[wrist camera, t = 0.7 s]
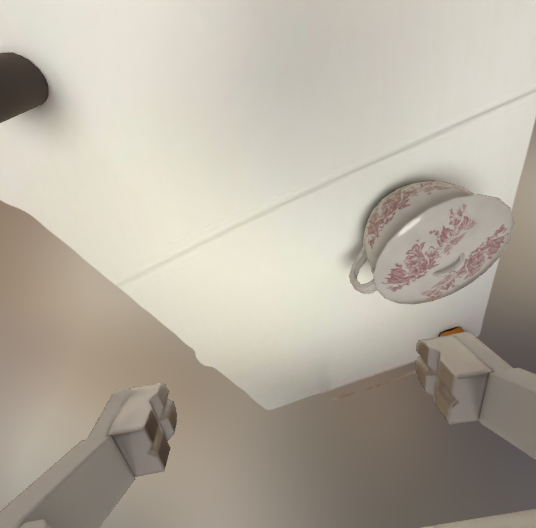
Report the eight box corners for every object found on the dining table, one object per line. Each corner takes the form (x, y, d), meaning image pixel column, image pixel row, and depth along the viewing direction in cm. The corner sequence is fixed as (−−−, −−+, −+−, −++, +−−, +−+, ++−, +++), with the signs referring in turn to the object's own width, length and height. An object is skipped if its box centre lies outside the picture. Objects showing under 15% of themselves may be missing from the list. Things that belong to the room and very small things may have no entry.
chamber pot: (481, 164, 62) (570, 210, 46) (422, 259, 79) (473, 316, 63) (366, 154, 56) (423, 202, 41) (330, 259, 74) (360, 321, 58)
